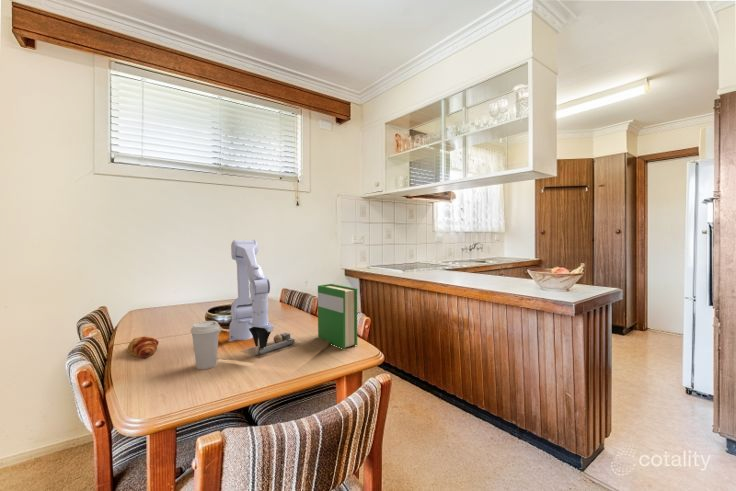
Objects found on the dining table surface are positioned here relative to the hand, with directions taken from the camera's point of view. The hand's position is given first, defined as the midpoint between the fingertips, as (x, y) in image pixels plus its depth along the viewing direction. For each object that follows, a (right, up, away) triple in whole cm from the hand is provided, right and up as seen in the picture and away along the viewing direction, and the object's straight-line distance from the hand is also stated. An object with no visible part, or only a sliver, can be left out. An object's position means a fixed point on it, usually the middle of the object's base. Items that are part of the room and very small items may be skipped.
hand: (260, 346), depth 124 cm
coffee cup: (-17, -5, -8) cm, 19 cm away
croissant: (-48, -4, +6) cm, 49 cm away
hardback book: (+27, -4, +16) cm, 32 cm away
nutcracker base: (+2, -4, +7) cm, 8 cm away
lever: (+5, -3, +5) cm, 7 cm away
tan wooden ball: (+3, -2, +12) cm, 13 cm away
